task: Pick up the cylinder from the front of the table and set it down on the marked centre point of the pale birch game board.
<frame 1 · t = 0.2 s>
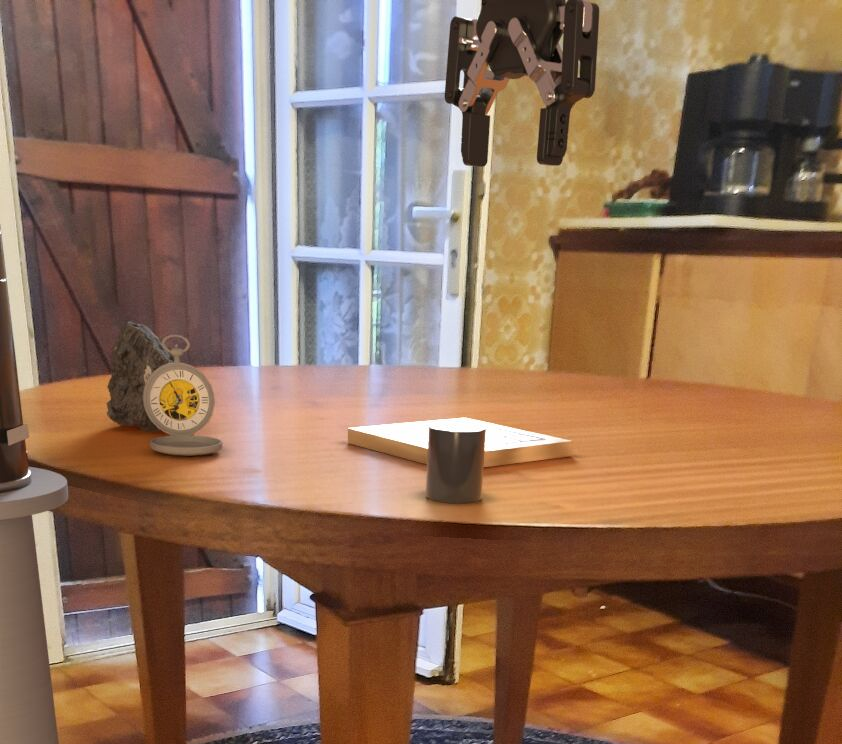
hand: (510, 165, 86), 25 cm above the table, tool pointing down, fingers open, 8 cm apart
board: (459, 449, 107), on the table
cylinder: (453, 497, 88), on the table
rock: (164, 429, 112), on the table
pocket watch: (186, 451, 101), on the table
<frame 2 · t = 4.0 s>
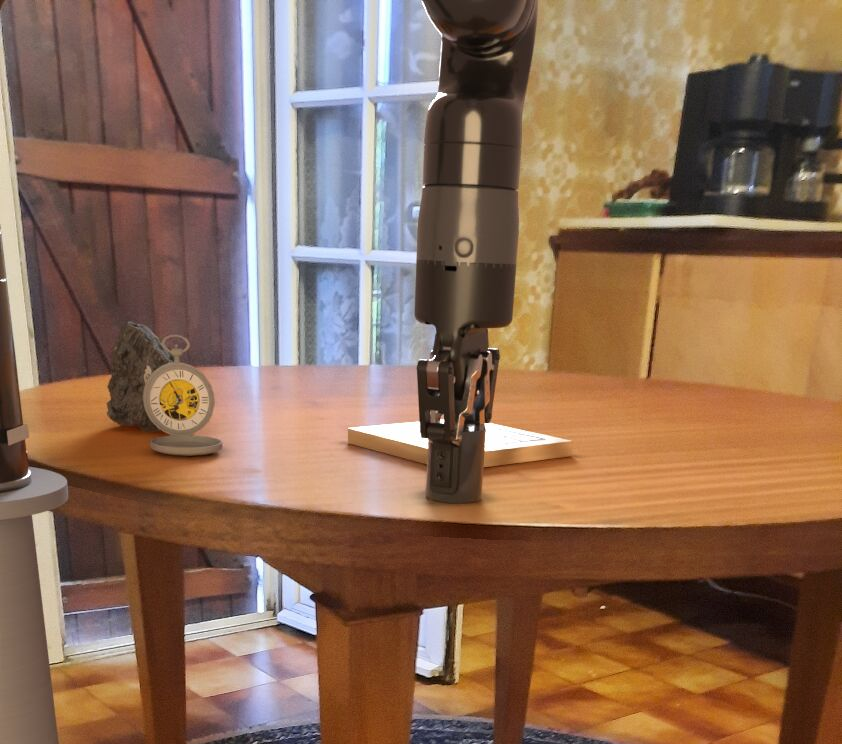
hand: (454, 485, 87), 1 cm above the table, tool pointing down, fingers closed on cylinder, 4 cm apart
cylinder: (453, 497, 88), on the table, touching gripper
everything else where it was.
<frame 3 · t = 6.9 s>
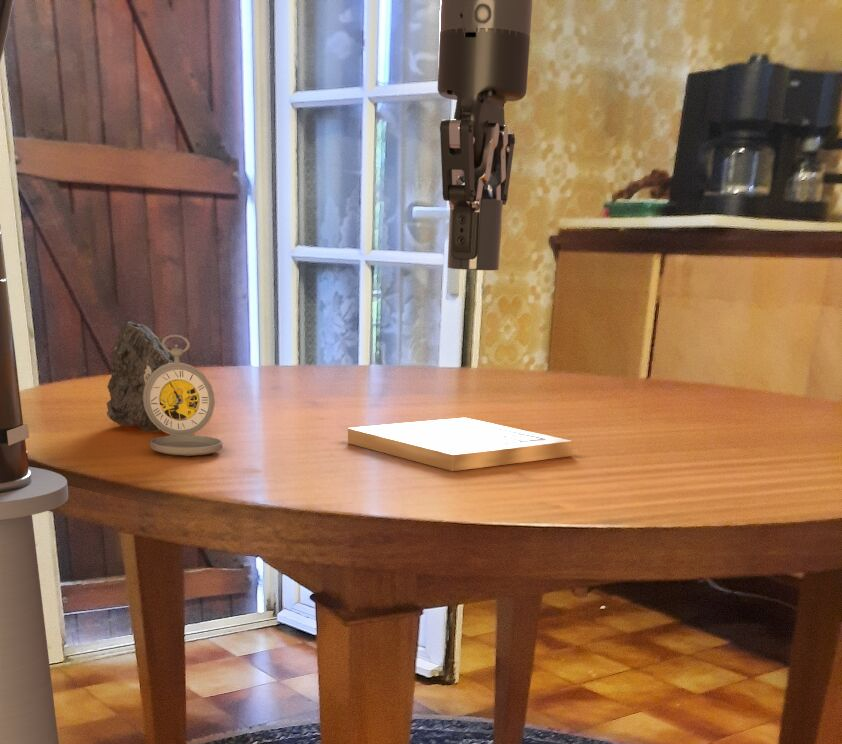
hand: (473, 257, 96), 18 cm above the table, tool pointing down, fingers closed on cylinder, 4 cm apart
cylinder: (473, 269, 96), point 17 cm above the table, touching gripper
everything else where it was.
when the fingers open (3 cm above the table, at t = 10.0 s): cylinder stays where it is, resting on board.
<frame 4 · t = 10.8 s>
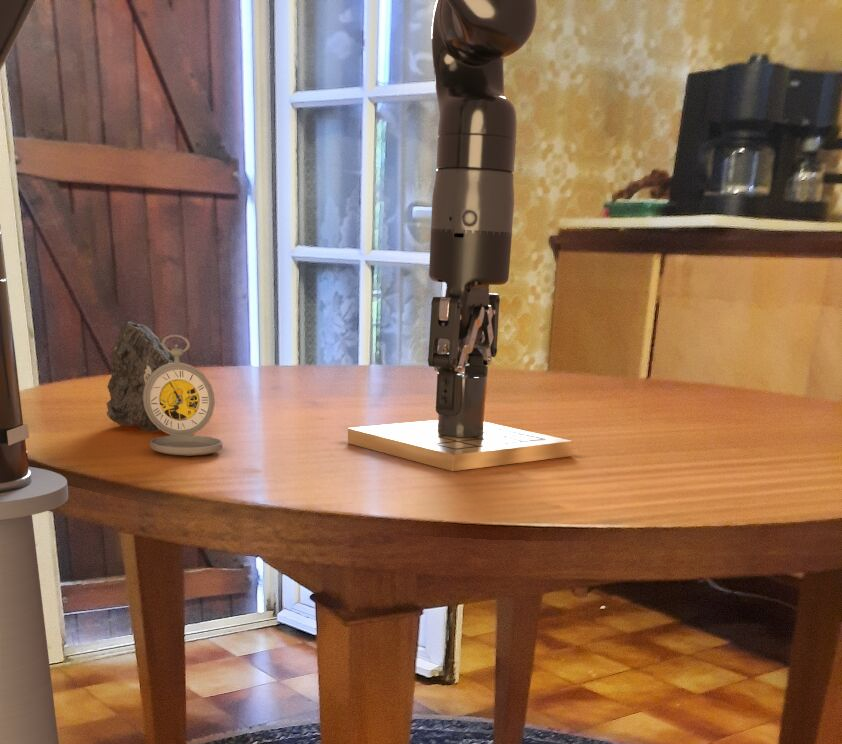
hand: (461, 409, 106), 4 cm above the table, tool pointing down, fingers open, 8 cm apart
cylinder: (460, 433, 107), point 2 cm above the table, touching board
everything else where it was.
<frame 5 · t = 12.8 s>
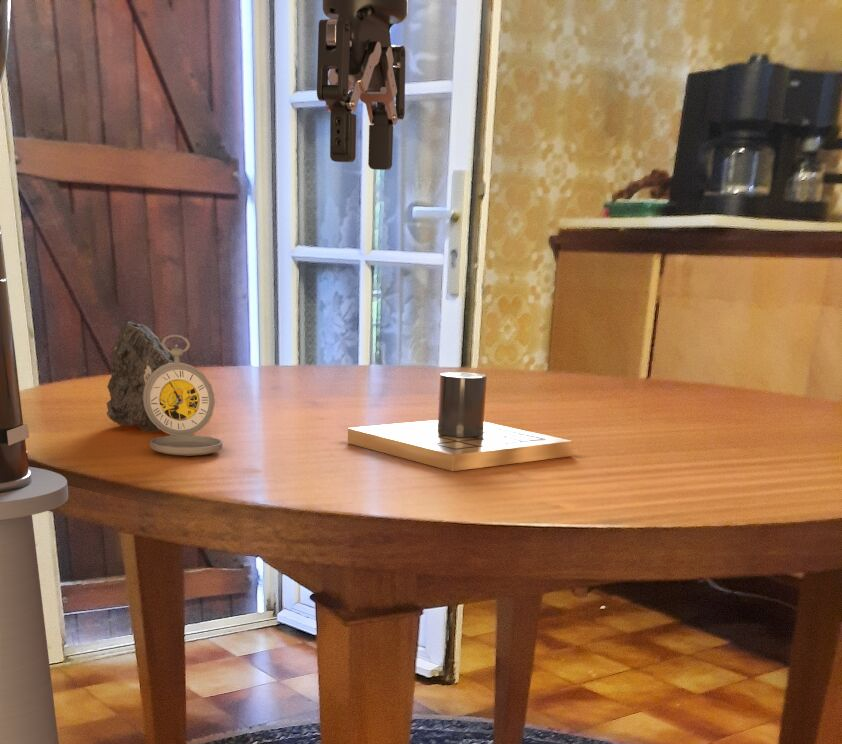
hand: (361, 165, 100), 25 cm above the table, tool pointing down, fingers open, 8 cm apart
nothing on the table moved.
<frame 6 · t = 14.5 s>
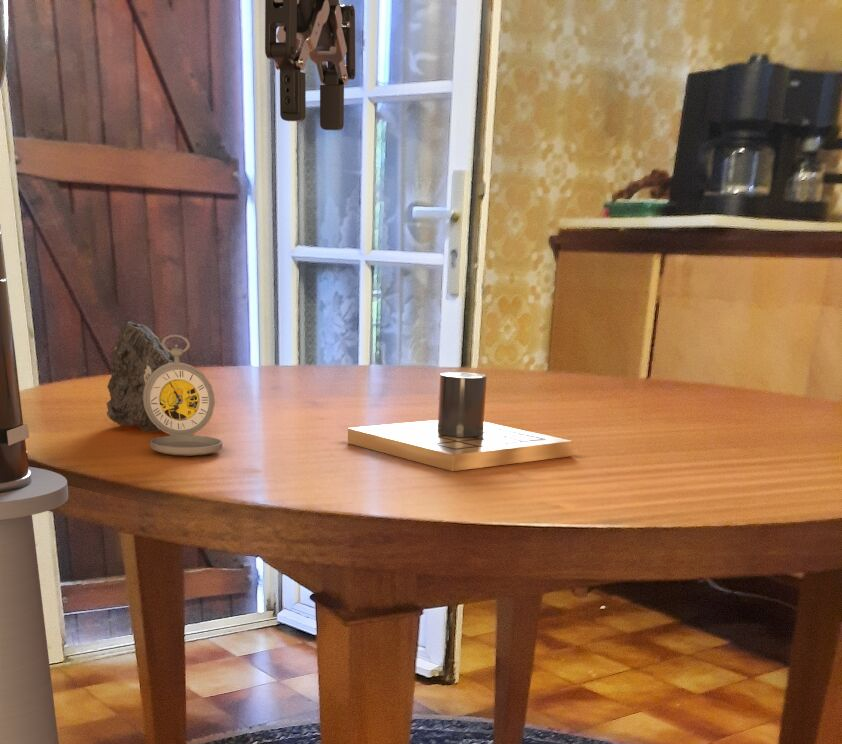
hand: (313, 125, 100), 28 cm above the table, tool pointing down, fingers open, 8 cm apart
nothing on the table moved.
at the end: cylinder 0.1 cm off-centre on the board, point 1.6 cm above the board's base; cylinder tilted 0° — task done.
